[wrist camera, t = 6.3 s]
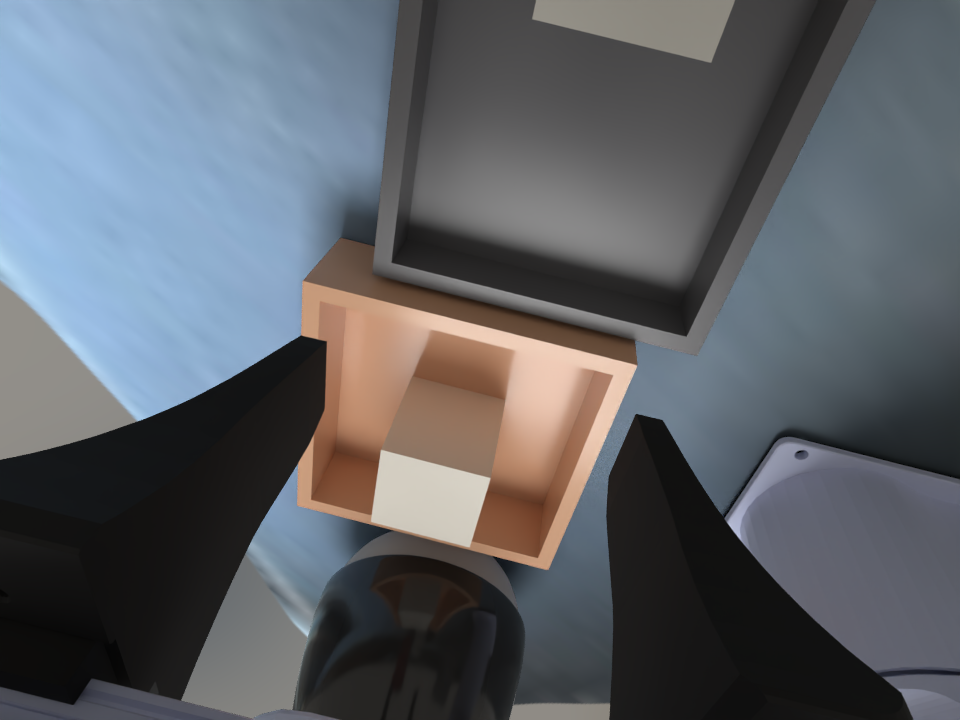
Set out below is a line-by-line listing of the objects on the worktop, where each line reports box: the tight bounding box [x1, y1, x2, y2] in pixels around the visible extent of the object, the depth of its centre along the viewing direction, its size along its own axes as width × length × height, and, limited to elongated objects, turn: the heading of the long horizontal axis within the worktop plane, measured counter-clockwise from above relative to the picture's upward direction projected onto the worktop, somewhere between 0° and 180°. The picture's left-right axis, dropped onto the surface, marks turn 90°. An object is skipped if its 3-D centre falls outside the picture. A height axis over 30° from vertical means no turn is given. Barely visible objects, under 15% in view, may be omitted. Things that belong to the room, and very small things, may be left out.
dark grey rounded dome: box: [292, 531, 525, 720], centre depth 26 cm, size 10×10×15 cm
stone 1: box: [371, 376, 506, 548], centre depth 24 cm, size 4×4×4 cm
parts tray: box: [372, 0, 876, 356], centre depth 17 cm, size 11×14×3 cm
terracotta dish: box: [297, 238, 637, 570], centre depth 24 cm, size 11×11×4 cm
